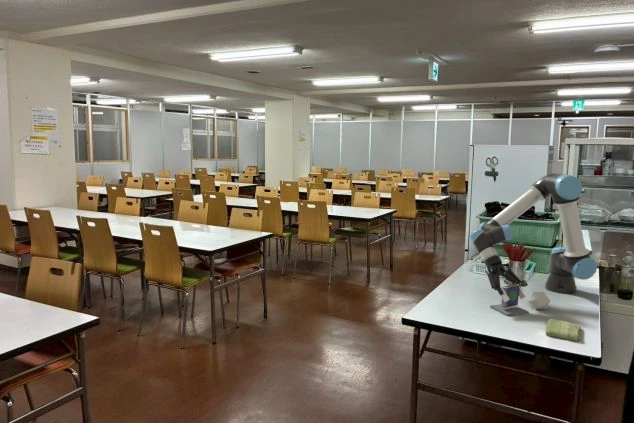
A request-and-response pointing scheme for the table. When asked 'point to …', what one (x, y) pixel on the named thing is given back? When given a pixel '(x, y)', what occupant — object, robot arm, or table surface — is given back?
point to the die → (539, 300)
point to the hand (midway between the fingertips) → (515, 299)
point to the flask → (511, 295)
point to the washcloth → (563, 330)
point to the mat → (509, 310)
